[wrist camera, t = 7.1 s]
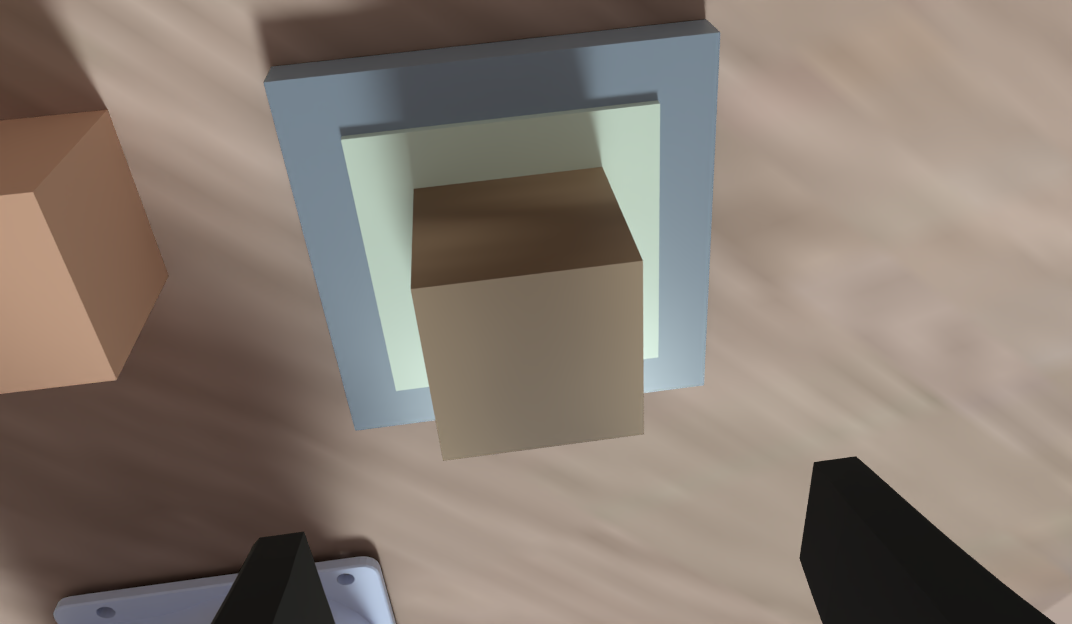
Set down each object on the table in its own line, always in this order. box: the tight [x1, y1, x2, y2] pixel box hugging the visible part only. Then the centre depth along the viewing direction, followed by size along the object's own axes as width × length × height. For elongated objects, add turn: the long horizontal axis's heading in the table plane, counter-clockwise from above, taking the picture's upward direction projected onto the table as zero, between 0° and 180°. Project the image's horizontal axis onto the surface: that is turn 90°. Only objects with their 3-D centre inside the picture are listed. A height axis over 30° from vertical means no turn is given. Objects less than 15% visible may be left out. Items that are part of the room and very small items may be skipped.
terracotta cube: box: [0, 110, 168, 394], centre depth 16 cm, size 4×4×4 cm
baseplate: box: [264, 19, 720, 431], centre depth 19 cm, size 9×9×1 cm
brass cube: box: [411, 167, 644, 461], centre depth 17 cm, size 4×4×4 cm
